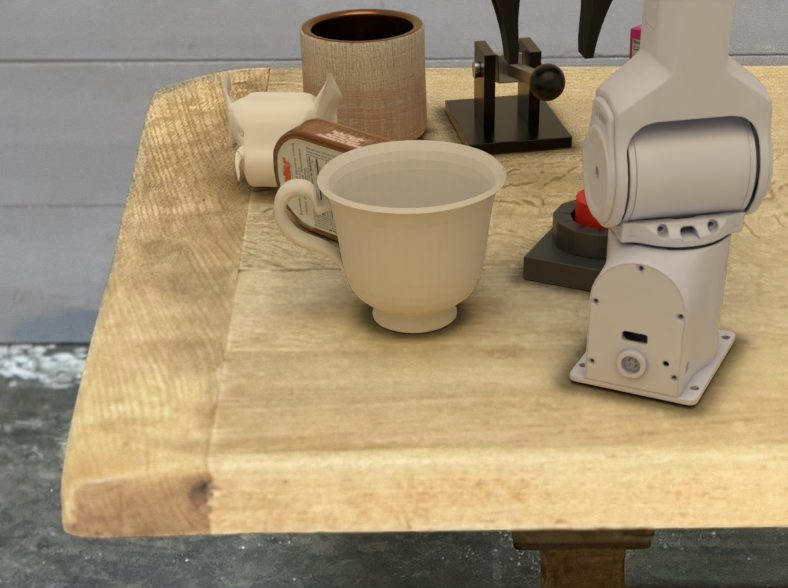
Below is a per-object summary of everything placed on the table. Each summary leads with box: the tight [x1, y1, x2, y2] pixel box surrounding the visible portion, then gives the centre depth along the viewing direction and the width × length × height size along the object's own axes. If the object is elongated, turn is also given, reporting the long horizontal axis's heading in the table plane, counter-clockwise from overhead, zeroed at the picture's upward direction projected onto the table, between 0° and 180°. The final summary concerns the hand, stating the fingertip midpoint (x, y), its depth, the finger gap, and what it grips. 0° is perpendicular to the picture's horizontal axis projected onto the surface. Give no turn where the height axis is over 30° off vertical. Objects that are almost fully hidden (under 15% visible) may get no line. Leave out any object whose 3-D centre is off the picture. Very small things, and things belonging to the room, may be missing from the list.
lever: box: [493, 51, 566, 102], centre depth 109 cm, size 17×3×3 cm, turn 8°
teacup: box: [273, 139, 507, 334], centre depth 87 cm, size 12×15×10 cm
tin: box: [273, 118, 394, 242], centre depth 97 cm, size 15×3×8 cm, turn 48°
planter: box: [299, 8, 428, 141], centre depth 116 cm, size 11×11×10 cm
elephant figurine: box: [222, 71, 343, 188], centre depth 107 cm, size 10×12×9 cm
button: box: [575, 188, 607, 229], centre depth 93 cm, size 4×4×2 cm
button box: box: [522, 199, 609, 292], centre depth 95 cm, size 10×8×4 cm
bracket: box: [444, 36, 573, 155], centre depth 117 cm, size 12×9×7 cm
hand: (548, 57), depth 101 cm, fingers open, 5 cm apart
